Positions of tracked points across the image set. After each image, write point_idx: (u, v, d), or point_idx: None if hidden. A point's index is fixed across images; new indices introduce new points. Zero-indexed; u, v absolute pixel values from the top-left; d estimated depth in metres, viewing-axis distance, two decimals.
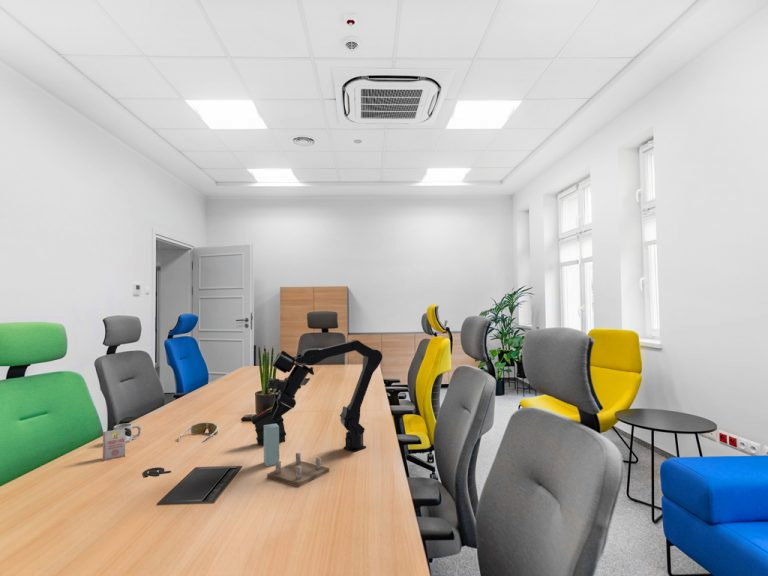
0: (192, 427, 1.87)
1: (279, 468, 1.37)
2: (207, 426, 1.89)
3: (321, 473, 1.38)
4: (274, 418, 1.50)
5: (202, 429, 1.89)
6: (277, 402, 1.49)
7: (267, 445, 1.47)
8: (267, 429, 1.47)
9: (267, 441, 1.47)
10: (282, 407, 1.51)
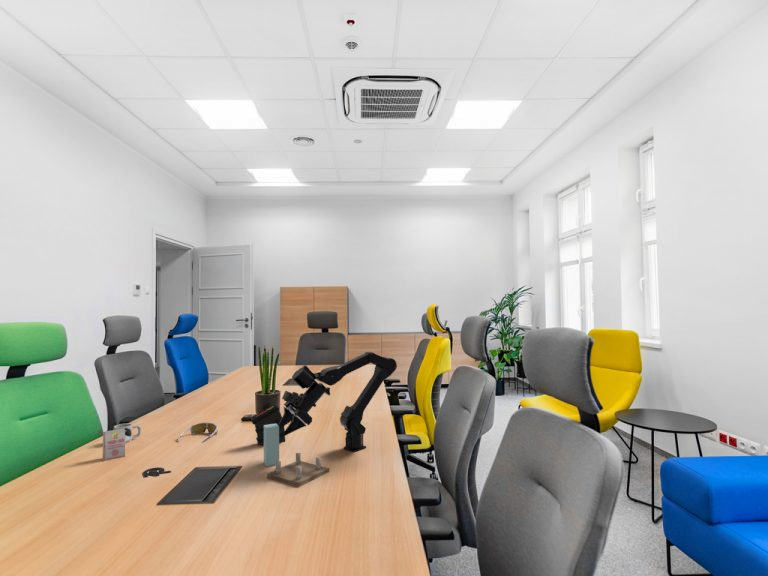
0: (192, 427, 1.87)
1: (279, 468, 1.37)
2: (207, 426, 1.89)
3: (321, 473, 1.38)
4: (286, 432, 1.48)
5: (201, 430, 1.89)
6: (294, 416, 1.47)
7: (267, 445, 1.47)
8: (267, 429, 1.47)
9: (267, 441, 1.47)
10: (296, 422, 1.49)
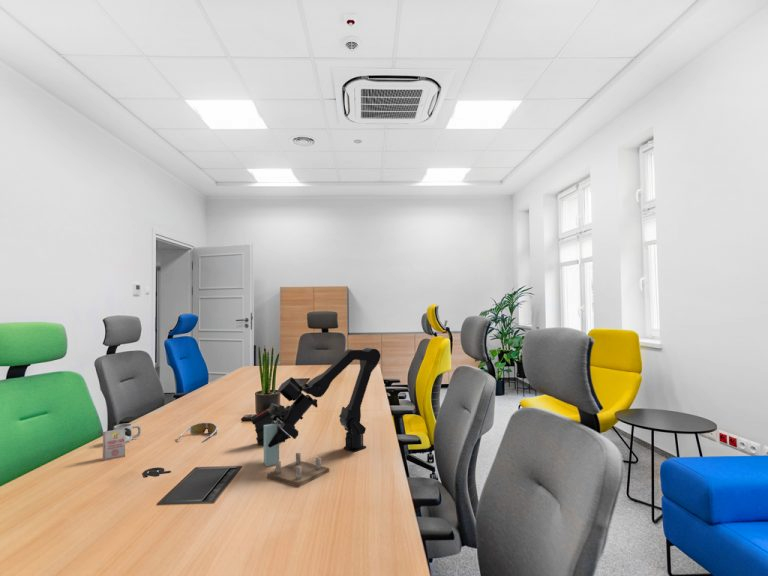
0: (191, 427, 1.87)
1: (279, 468, 1.37)
2: (206, 426, 1.88)
3: (321, 473, 1.38)
4: (270, 444, 1.47)
5: (201, 430, 1.88)
6: (278, 429, 1.47)
7: (267, 445, 1.47)
8: (267, 429, 1.47)
9: (267, 441, 1.47)
10: (281, 434, 1.48)
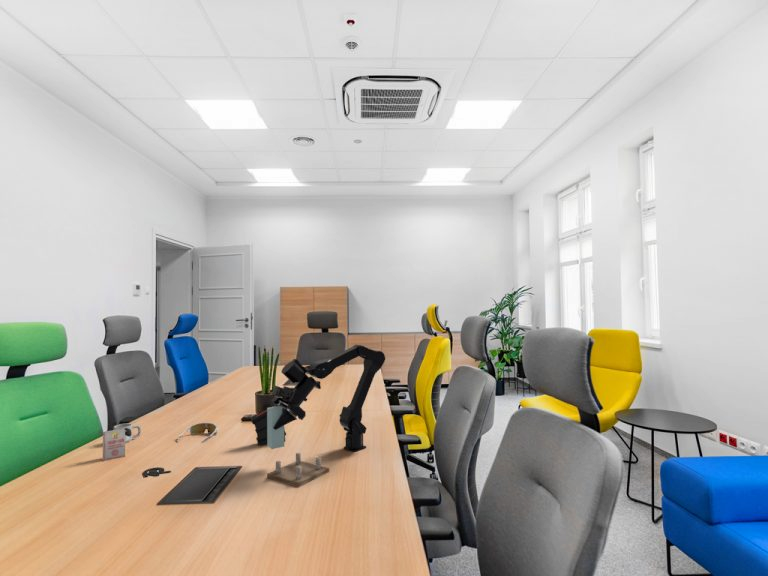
0: (191, 427, 1.86)
1: (279, 468, 1.37)
2: (206, 426, 1.88)
3: (321, 473, 1.38)
4: (276, 427, 1.44)
5: (201, 430, 1.88)
6: (284, 410, 1.44)
7: (272, 427, 1.44)
8: (272, 411, 1.44)
9: (272, 423, 1.44)
10: (286, 416, 1.46)
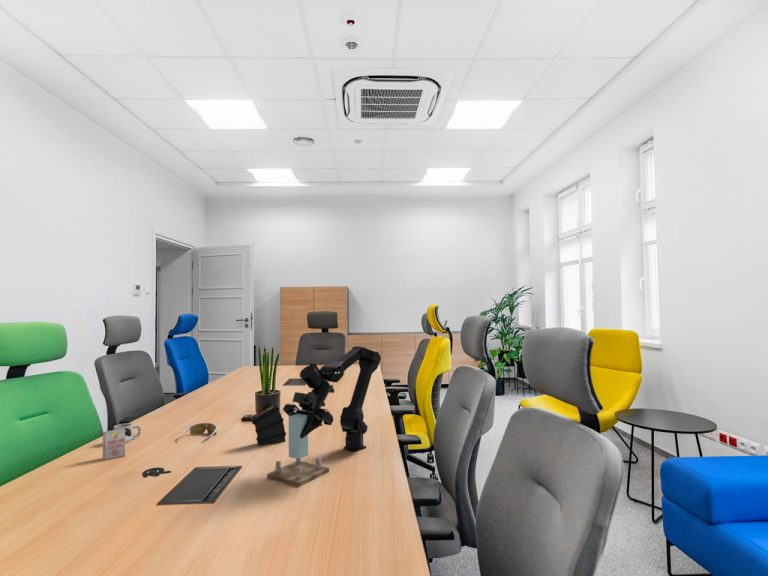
0: (191, 427, 1.86)
1: (279, 468, 1.37)
2: (206, 426, 1.88)
3: (321, 473, 1.38)
4: (303, 435, 1.37)
5: (201, 430, 1.88)
6: (311, 417, 1.38)
7: (299, 436, 1.37)
8: (299, 419, 1.37)
9: (299, 432, 1.37)
10: (311, 423, 1.40)
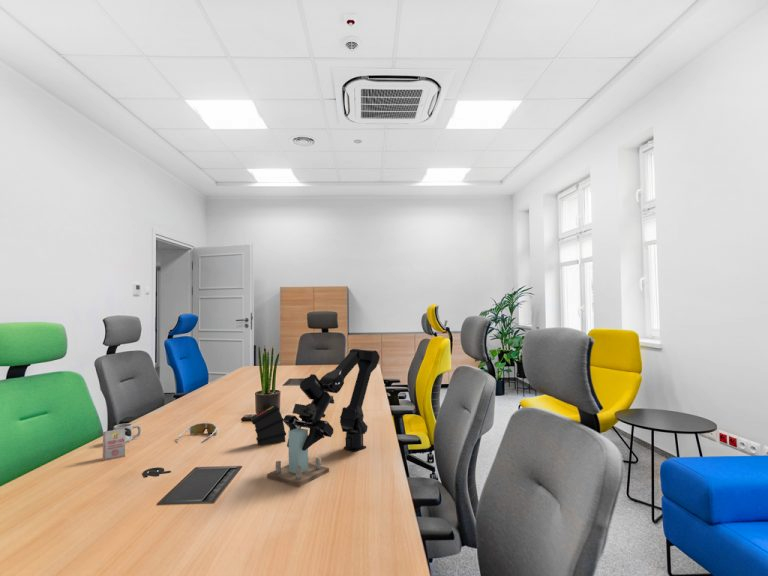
0: (191, 428, 1.86)
1: (279, 468, 1.37)
2: (206, 427, 1.88)
3: (321, 473, 1.38)
4: (305, 448, 1.36)
5: (201, 430, 1.88)
6: (313, 429, 1.37)
7: (299, 451, 1.36)
8: (299, 434, 1.37)
9: (299, 447, 1.37)
10: (314, 435, 1.39)
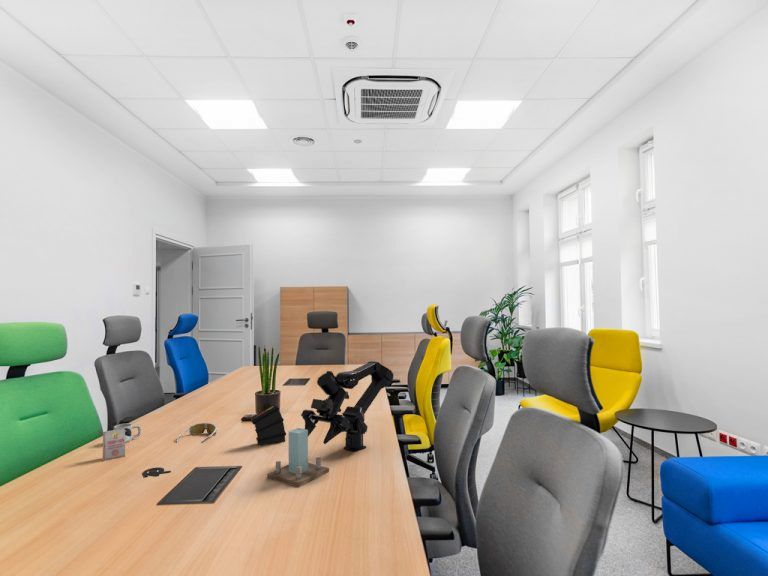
0: (190, 428, 1.86)
1: (279, 468, 1.37)
2: (206, 427, 1.88)
3: (321, 473, 1.38)
4: (326, 441, 1.43)
5: (200, 430, 1.88)
6: (334, 423, 1.44)
7: (299, 451, 1.36)
8: (299, 434, 1.37)
9: (299, 447, 1.36)
10: (334, 429, 1.46)
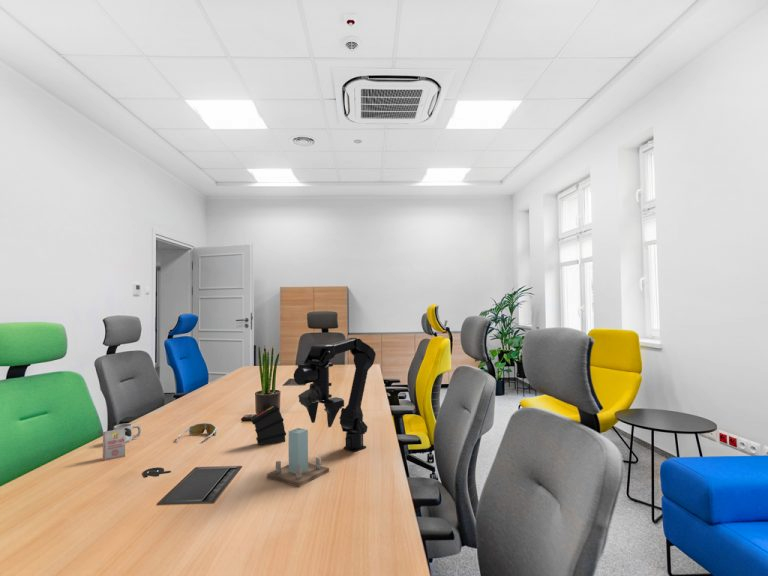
0: (190, 428, 1.86)
1: (279, 468, 1.37)
2: (205, 427, 1.88)
3: (321, 473, 1.38)
4: (330, 425, 1.47)
5: (200, 430, 1.88)
6: (328, 411, 1.44)
7: (299, 451, 1.36)
8: (299, 434, 1.37)
9: (299, 447, 1.36)
10: (332, 411, 1.47)
